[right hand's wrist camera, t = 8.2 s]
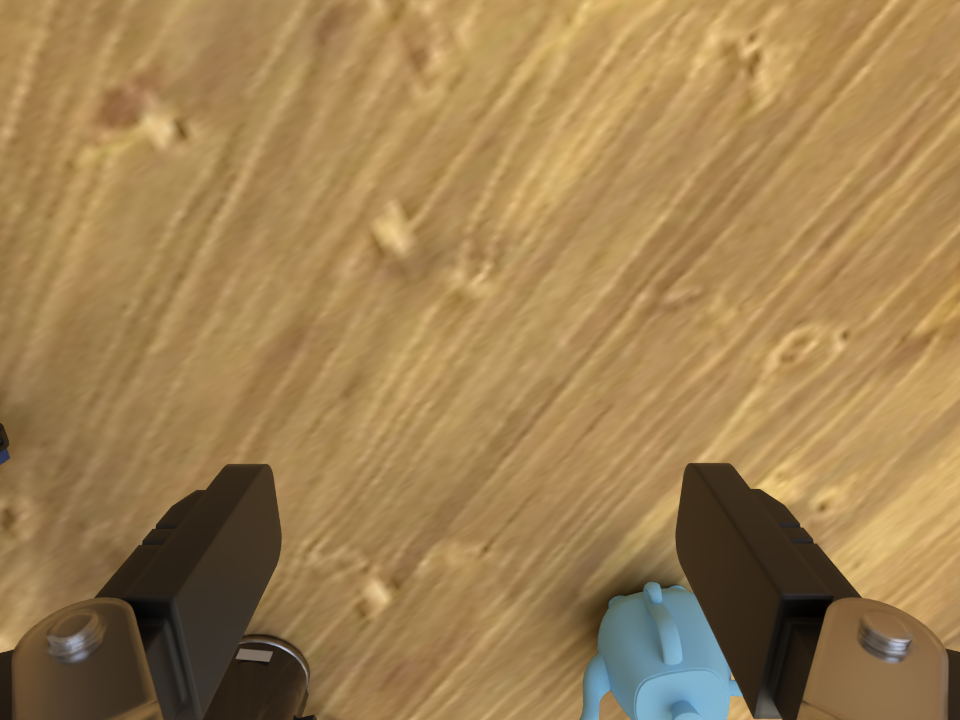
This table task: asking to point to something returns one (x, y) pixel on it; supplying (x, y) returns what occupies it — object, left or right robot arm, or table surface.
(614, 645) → the teapot
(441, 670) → the table surface
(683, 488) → the right robot arm
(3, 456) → the brick
